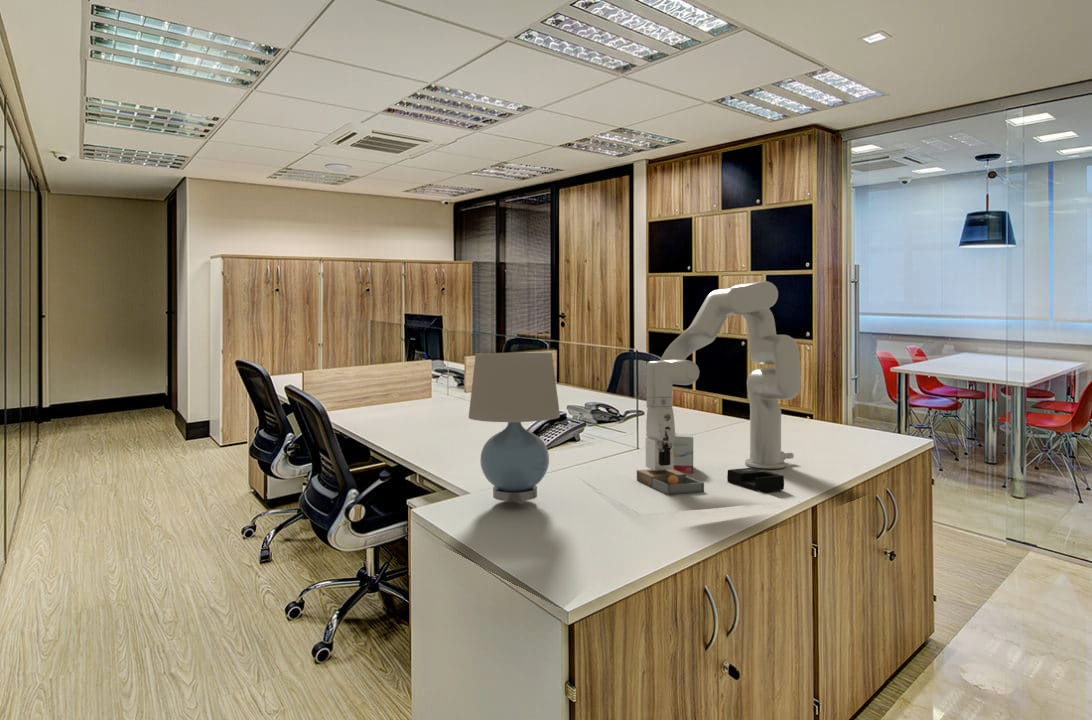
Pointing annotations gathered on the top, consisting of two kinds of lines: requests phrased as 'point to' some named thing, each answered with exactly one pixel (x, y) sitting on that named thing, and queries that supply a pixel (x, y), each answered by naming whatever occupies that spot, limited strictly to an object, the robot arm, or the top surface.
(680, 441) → the ink box
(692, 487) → the tray
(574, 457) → the top surface
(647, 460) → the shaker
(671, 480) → the ball
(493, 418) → the lamp
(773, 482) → the battery charger
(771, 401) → the robot arm
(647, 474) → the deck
